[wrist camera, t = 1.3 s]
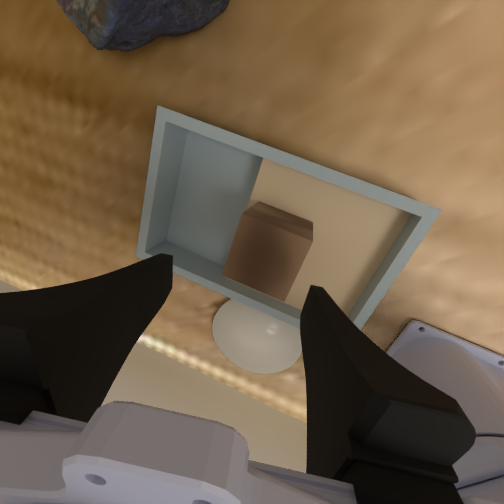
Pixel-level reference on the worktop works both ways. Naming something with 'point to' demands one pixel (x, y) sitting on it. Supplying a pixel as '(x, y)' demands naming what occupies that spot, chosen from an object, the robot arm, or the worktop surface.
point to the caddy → (282, 197)
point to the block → (268, 249)
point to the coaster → (255, 339)
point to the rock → (138, 19)
